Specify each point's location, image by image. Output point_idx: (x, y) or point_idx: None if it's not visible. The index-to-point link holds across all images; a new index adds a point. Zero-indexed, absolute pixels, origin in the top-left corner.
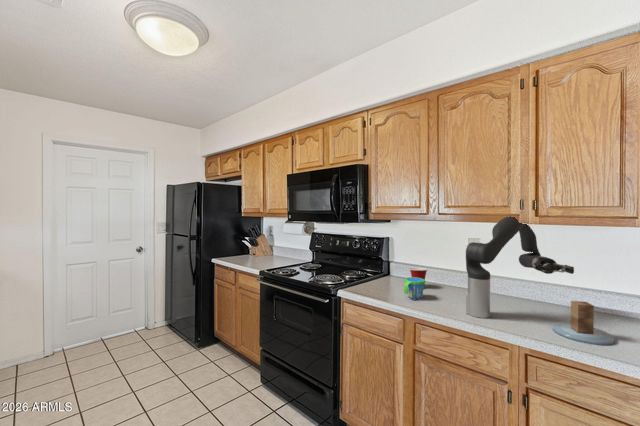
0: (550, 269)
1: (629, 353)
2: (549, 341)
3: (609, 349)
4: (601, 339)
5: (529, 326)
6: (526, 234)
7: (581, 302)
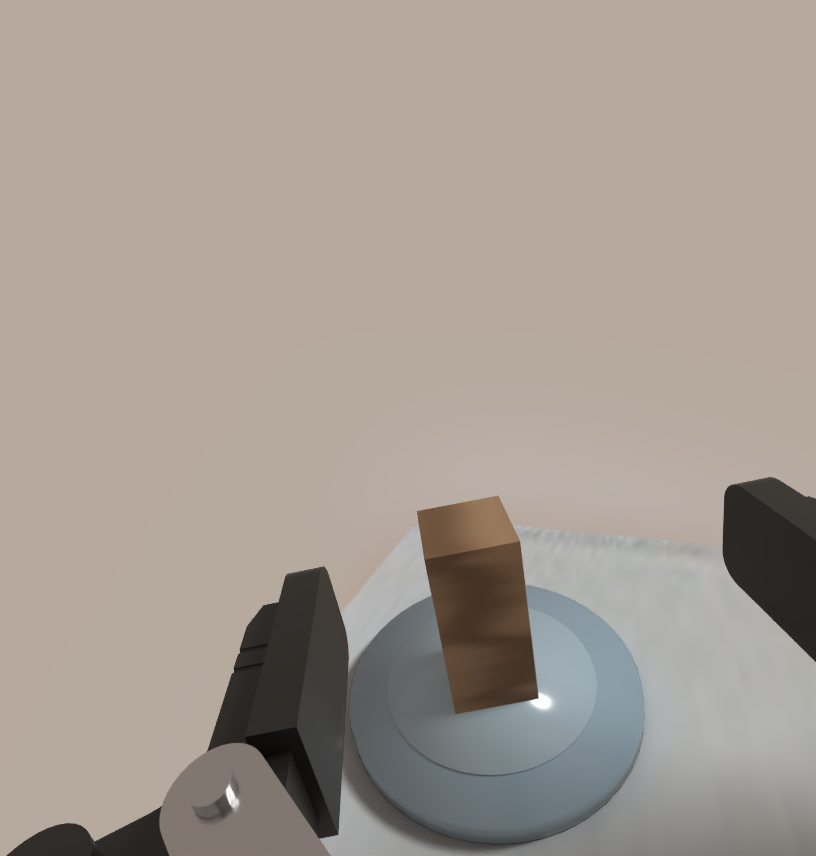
0: (725, 513)
1: (381, 579)
2: (643, 555)
3: None
4: (432, 614)
5: (785, 691)
6: None
7: (463, 534)
